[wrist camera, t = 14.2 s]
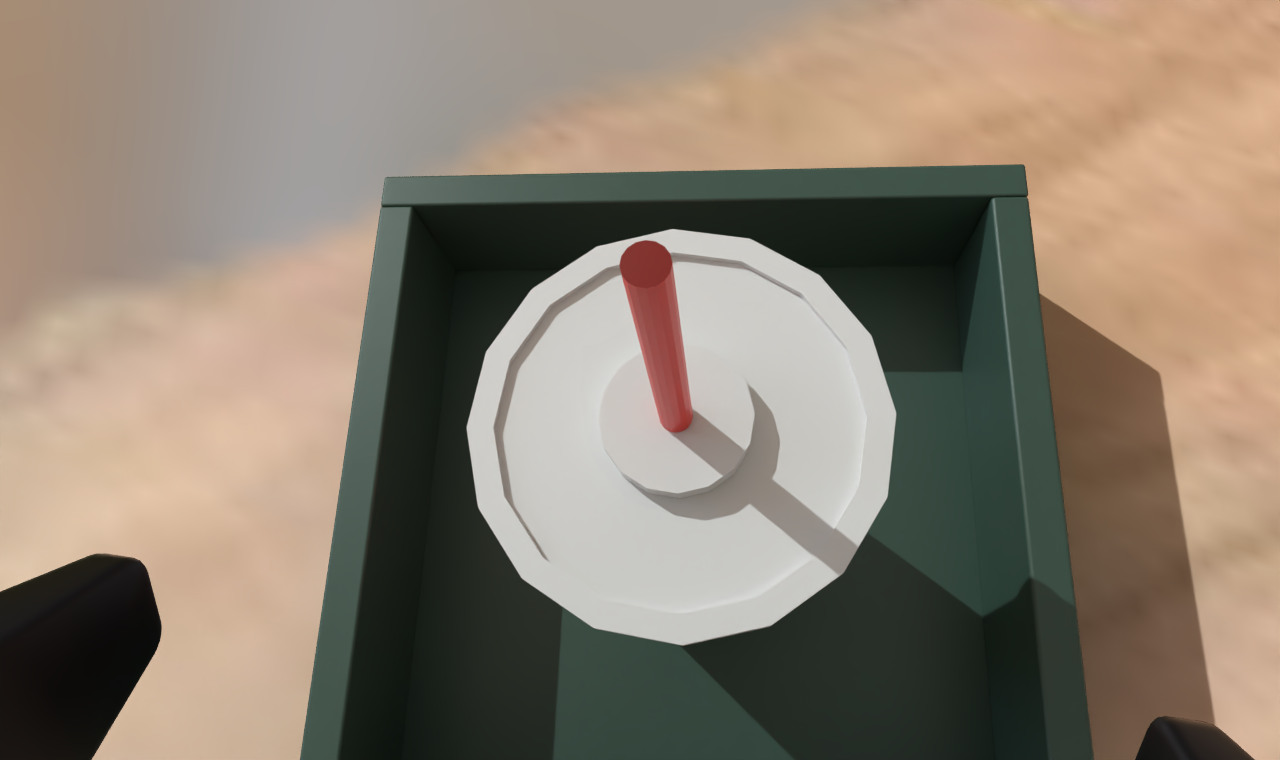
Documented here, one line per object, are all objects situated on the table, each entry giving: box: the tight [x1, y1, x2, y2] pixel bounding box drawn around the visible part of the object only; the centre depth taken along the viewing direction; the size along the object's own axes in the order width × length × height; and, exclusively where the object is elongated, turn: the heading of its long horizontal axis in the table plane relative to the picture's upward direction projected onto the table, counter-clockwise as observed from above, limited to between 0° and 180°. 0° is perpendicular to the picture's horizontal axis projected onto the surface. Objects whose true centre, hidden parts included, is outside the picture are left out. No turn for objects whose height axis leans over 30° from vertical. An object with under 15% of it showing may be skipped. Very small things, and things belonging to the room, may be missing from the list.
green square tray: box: [300, 164, 1094, 760], centre depth 20 cm, size 15×15×4 cm
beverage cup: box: [467, 229, 896, 646], centre depth 14 cm, size 6×6×14 cm
